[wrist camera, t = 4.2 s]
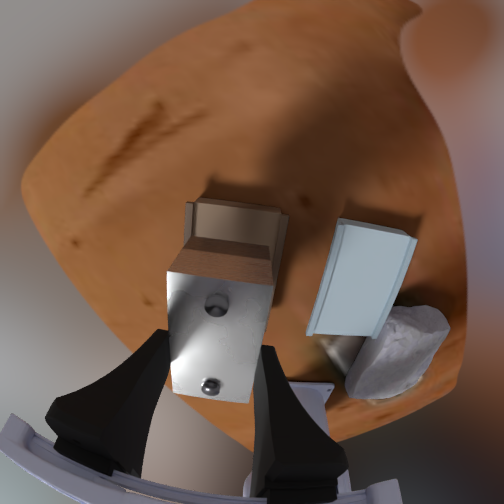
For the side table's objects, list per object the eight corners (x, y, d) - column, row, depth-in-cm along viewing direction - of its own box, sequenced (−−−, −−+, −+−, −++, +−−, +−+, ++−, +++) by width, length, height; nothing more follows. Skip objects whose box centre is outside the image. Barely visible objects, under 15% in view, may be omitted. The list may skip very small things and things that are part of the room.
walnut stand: (286, 208, 20) (289, 216, 18) (265, 317, 24) (265, 331, 22) (192, 196, 20) (185, 202, 18) (188, 307, 24) (183, 320, 22)
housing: (249, 352, 18) (248, 407, 14) (187, 343, 18) (172, 396, 14) (268, 245, 15) (273, 289, 11) (191, 235, 15) (164, 274, 11)
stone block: (438, 295, 25) (373, 301, 23) (463, 321, 21) (400, 335, 19) (396, 367, 30) (334, 380, 28) (413, 392, 26) (349, 412, 24)
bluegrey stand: (406, 231, 20) (417, 239, 18) (370, 326, 24) (376, 339, 22) (331, 216, 20) (338, 224, 18) (303, 321, 24) (306, 335, 22)
